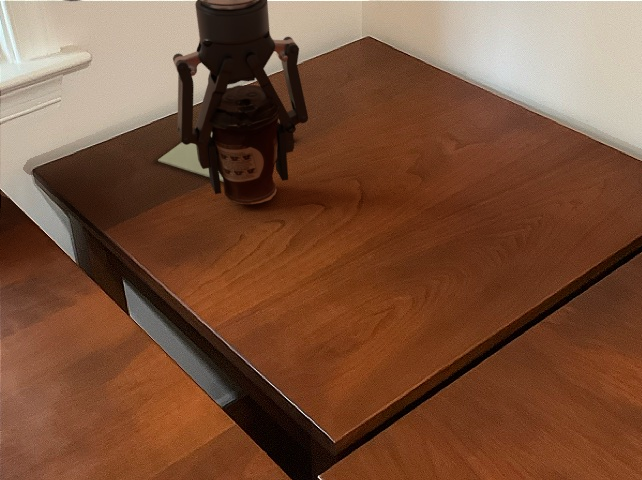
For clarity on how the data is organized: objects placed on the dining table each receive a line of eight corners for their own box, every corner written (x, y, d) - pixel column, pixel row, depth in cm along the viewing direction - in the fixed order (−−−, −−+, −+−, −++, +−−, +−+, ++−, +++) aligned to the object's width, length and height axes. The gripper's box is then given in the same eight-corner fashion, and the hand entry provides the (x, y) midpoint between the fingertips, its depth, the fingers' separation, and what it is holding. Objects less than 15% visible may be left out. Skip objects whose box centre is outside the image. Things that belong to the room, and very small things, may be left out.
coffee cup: (267, 218, 96) (258, 120, 88) (203, 205, 99) (189, 108, 90) (295, 179, 103) (289, 85, 95) (235, 168, 105) (224, 75, 97)
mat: (158, 161, 108) (157, 159, 108) (216, 119, 117) (215, 117, 117) (239, 186, 103) (239, 185, 103) (293, 140, 112) (293, 138, 112)
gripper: (137, 24, 80) (171, 215, 94) (335, -4, 85) (338, 180, 100) (126, -3, 85) (159, 181, 100) (313, -28, 91) (319, 150, 105)
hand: (249, 180), depth 100 cm, fingers closed on coffee cup, 8 cm apart
